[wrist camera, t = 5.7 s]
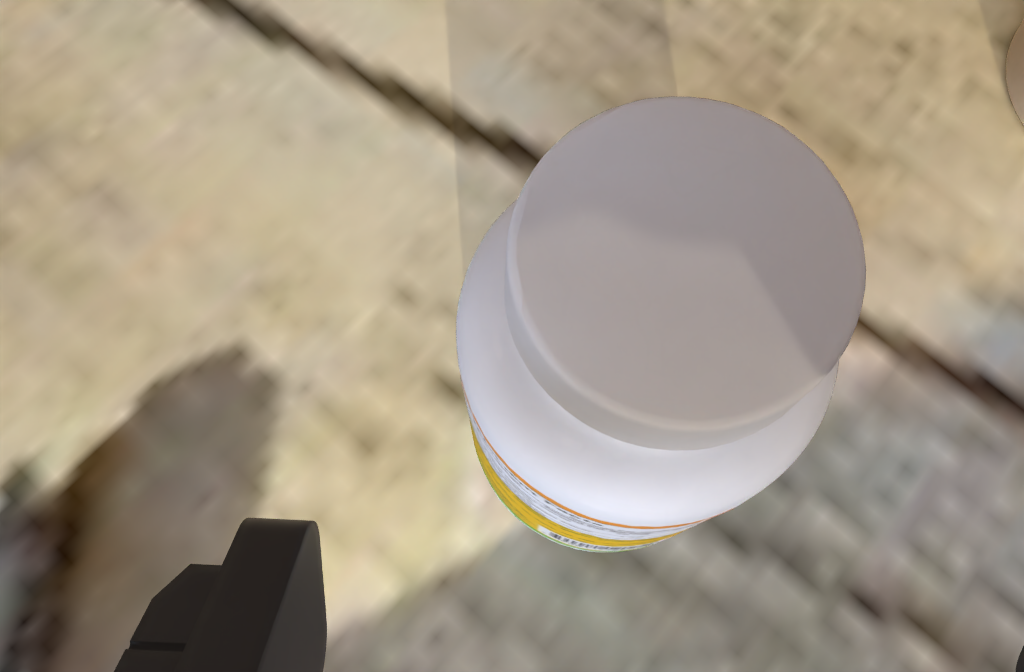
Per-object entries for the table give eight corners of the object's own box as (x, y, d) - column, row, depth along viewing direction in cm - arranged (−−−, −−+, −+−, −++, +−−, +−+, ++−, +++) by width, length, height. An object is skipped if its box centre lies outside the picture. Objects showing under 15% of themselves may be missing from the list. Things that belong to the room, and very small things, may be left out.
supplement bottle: (619, 258, 20) (715, -39, 11) (779, 450, 19) (1039, 297, 10) (421, 398, 19) (344, 202, 10) (576, 610, 18) (652, 609, 9)
